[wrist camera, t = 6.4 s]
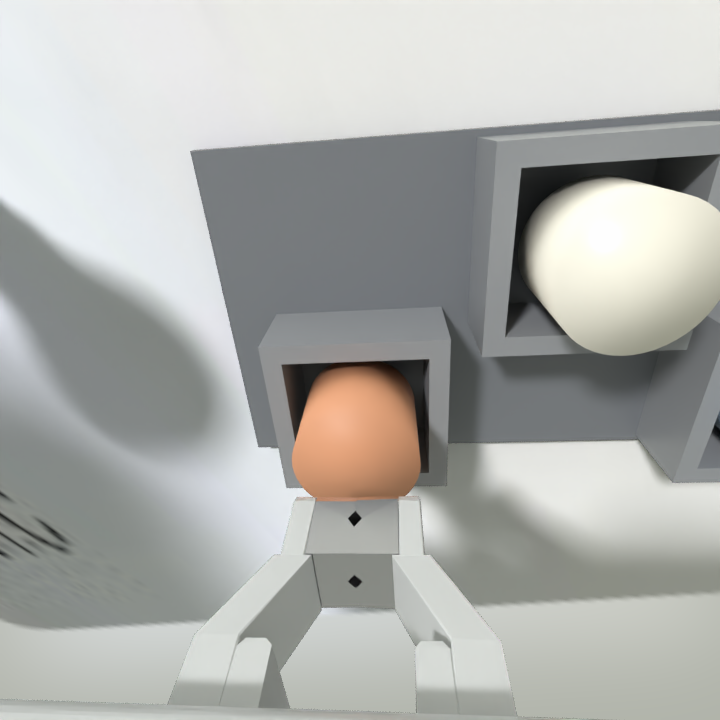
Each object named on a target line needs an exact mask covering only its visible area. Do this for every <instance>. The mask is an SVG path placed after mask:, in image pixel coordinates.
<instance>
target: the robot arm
mask: <svg viewBox="0 0 720 720" xmlns="http://www.w3.org/2000/svg"><path fill="white" fill-rule="evenodd" d="M398 506H399V508H398ZM337 607H366V608H389V609H395V611H396V613H397V614H398V616H399V618H400V620H401V622H402V623H403V625H404V627H405V628H406V630H407V632H408V634H409V636H410V637H411V639H412V641H413V643H414V644H415V646H416V647H415V674H416V713H399V712H396V713H395V712H370V711H341V710H312V709H311V710H310V709H290V706H289V703H288V700H287V696H286V692H285V689H284V686H283V682H282V679H281V675H280V670H281V669H282V667H283V666H284V664H285V663H286V662H287V660H288V659H289V657H290V656H291V654H292V653H293V651H294V650H295V648H296V647H297V646H298V644H299V643H300V641H301V640H302V638H303V637H304V635H305V634H306V632H307V631H308V629H309V628H310V626H311V625H312V623H313V622H314V621H315V619H316V618H317V616H318V615H319V613H320V612H321V610H322V609H321V608H337ZM0 720H599V719H569V718H541V717H517V713H516V708H515V704H514V698H513V694H512V689H511V684H510V680H509V675H508V670H507V666H506V661H505V656H504V652H503V647H502V642H501V640H500V639H499V638H498V636H497V635H496V634H495V633H494V632H493V630H492V629H491V628H490V627H489V625H488V624H487V623H486V622H485V620H484V619H483V618H482V617H481V616H480V615H479V613H478V612H477V611H476V609H475V608H474V607H473V606H472V605H471V603H470V602H469V601H468V600H467V598H466V597H465V596H464V595H463V593H462V592H461V591H460V590H459V589H458V587H457V586H456V585H455V584H454V582H453V581H452V580H451V579H450V577H449V576H448V575H447V574H446V573H445V571H444V570H443V569H442V568H441V566H440V565H439V564H438V563H437V561H436V560H435V559H434V558H433V557H432V555H425V551H424V538H423V526H422V513H421V501H420V497H419V496H401V497H358V498H346V497H297V498H296V499H295V501H294V503H293V507H292V511H291V515H290V519H289V523H288V527H287V531H286V535H285V539H284V543H283V547H282V551H281V554H277V555H273V556H272V557H271V558H270V559H269V560H268V561H267V562H266V563H265V564H264V565H263V566H262V567H261V568H260V569H259V570H258V571H257V572H256V573H255V574H254V575H253V576H252V577H251V578H250V579H249V580H248V581H247V582H246V583H245V584H244V585H243V586H242V587H241V588H240V589H239V590H238V591H237V592H236V593H235V594H234V595H233V596H232V597H231V598H230V599H229V600H228V601H227V602H226V603H225V604H224V605H223V606H222V607H221V608H220V609H219V610H218V611H217V612H216V613H215V614H214V615H213V616H212V617H211V618H210V619H209V620H208V621H207V622H206V623H205V624H204V625H203V626H202V627H201V628H200V629H199V630H198V631H197V632H196V633H195V634H194V637H193V639H192V642H191V644H190V647H189V650H188V652H187V655H186V657H185V660H184V663H183V665H182V668H181V671H180V673H179V676H178V678H177V681H176V683H175V686H174V689H173V691H172V694H171V696H170V699H169V702H168V704H167V705H165V704H135V703H106V702H76V701H48V700H18V699H0Z"/></svg>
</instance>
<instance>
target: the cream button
mask: <svg viewBox="0 0 720 720" xmlns="http://www.w3.org/2000/svg"><path fill="white" fill-rule="evenodd" d="M518 264H519V269H520V273H521V275H522V278H523V280H524V282H525V283H526V285H527V287H528V288H529V289H530V290H531V291H532V293H533V294H534V295H535V296H536V297H537V299H538V300H539V301H540V302H541V303H542V305H543V306H544V307H545V308H546V309H547V311H548V312H549V313H550V314H551V315H552V317H553V318H554V319H555V320H556V321H557V323H558V324H559V325H560V326H561V327H562V329H563V330H564V331H565V332H566V333H567V335H568V336H569V337H570V338H571V339H572V340H574V341H575V342H576V343H577V344H579V345H581V346H582V347H584V348H586V349H588V350H591V351H593V352H596V353H600V354H605V355H612V356H627V355H636V354H641V353H646V352H649V351H652V350H656V349H658V348H661V347H663V346H665V345H668V344H670V343H671V342H673V341H675V340H677V339H679V338H680V337H682V336H683V335H685V334H687V333H688V332H689V331H691V330H692V329H693V328H694V327H696V326H697V325H698V324H699V323H700V322H701V321H702V320H703V319H704V318H705V317H706V316H707V315H708V314H709V313H710V312H711V311H712V310H713V308H714V307H715V306H716V304H717V303H718V301H719V300H720V212H719V211H718V210H717V209H716V208H715V207H714V206H712V205H711V204H710V203H708V202H706V201H704V200H702V199H700V198H698V197H695V196H692V195H688V194H685V193H681V192H677V191H673V190H669V189H665V188H661V187H657V186H653V185H649V184H645V183H641V182H638V181H634V180H630V179H626V178H622V177H618V176H612V175H593V176H587V177H583V178H580V179H577V180H574V181H572V182H569V183H567V184H565V185H564V186H562V187H560V188H558V189H557V190H556V191H554V192H553V193H551V194H550V195H549V196H548V197H547V198H545V199H544V200H543V201H542V202H541V203H540V205H539V206H538V207H537V208H536V209H535V211H534V212H533V213H532V215H531V216H530V218H529V219H528V221H527V223H526V225H525V227H524V229H523V232H522V235H521V238H520V242H519V248H518Z"/></svg>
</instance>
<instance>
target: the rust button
mask: <svg viewBox="0 0 720 720" xmlns="http://www.w3.org/2000/svg"><path fill="white" fill-rule="evenodd" d="M292 467H293V470H294V473H295V476H296V478H297V480H298V481H299V483H300V484H301V486H302V487H303V488H304V489H305V490H306V491H307V492H308V493H309V494H310V495H312V496H313V497H346V498H358V497H401V496H406V495H407V494H408V493H409V492H410V491H411V489H412V488H413V487H414V485H415V484H416V482H417V479H418V477H419V473H420V467H421V462H420V451H419V441H418V431H417V421H416V411H415V401H414V394H413V391H412V388H411V386H410V384H409V383H408V381H407V380H406V378H405V377H404V376H403V375H402V374H401V373H400V372H399V371H398V370H396V369H395V368H394V367H392V366H390V365H388V364H386V363H384V362H381V361H364V362H337V363H334V364H332V365H330V366H328V367H327V368H325V369H324V370H323V371H322V372H321V373H320V374H319V375H318V376H317V377H316V378H315V380H314V382H313V383H312V386H311V388H310V391H309V395H308V399H307V402H306V406H305V409H304V413H303V416H302V420H301V423H300V427H299V431H298V434H297V438H296V441H295V445H294V448H293V453H292Z"/></svg>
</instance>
